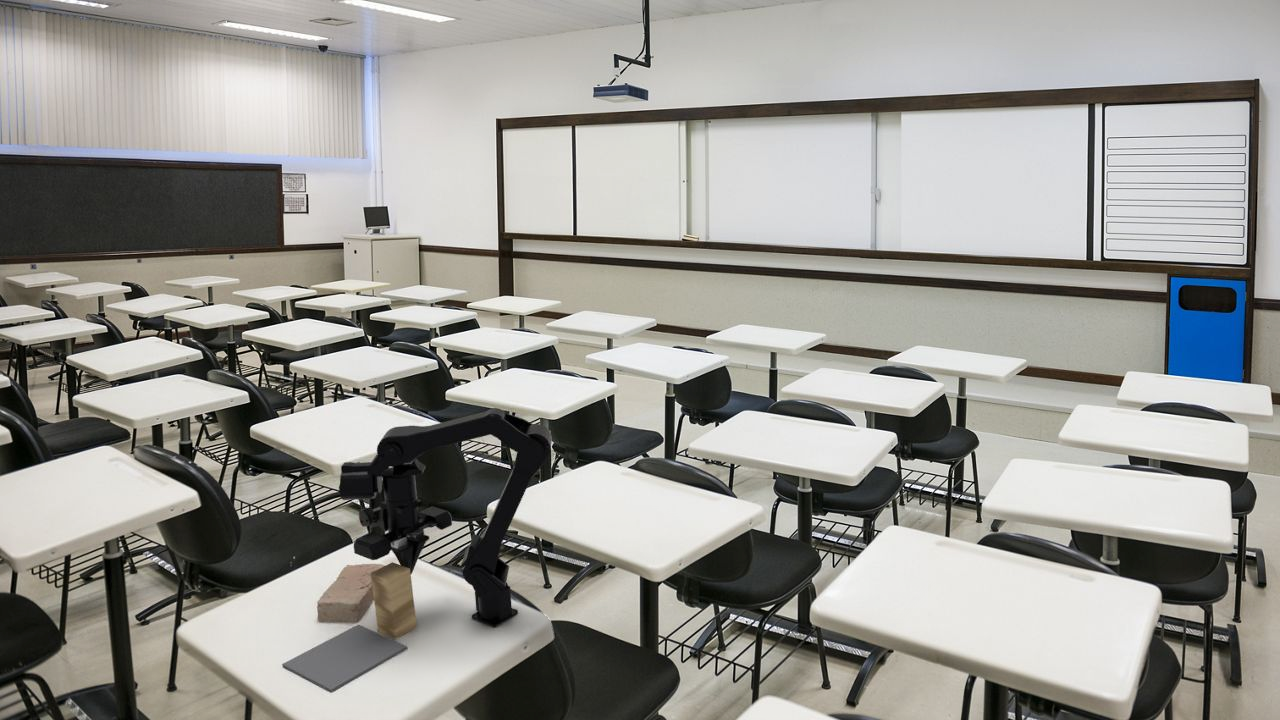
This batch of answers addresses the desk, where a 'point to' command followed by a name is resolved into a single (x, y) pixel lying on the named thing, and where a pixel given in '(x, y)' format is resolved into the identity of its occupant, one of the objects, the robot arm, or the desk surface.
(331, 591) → the brick
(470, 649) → the desk surface
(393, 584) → the oak block
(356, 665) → the mat
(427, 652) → the desk surface
